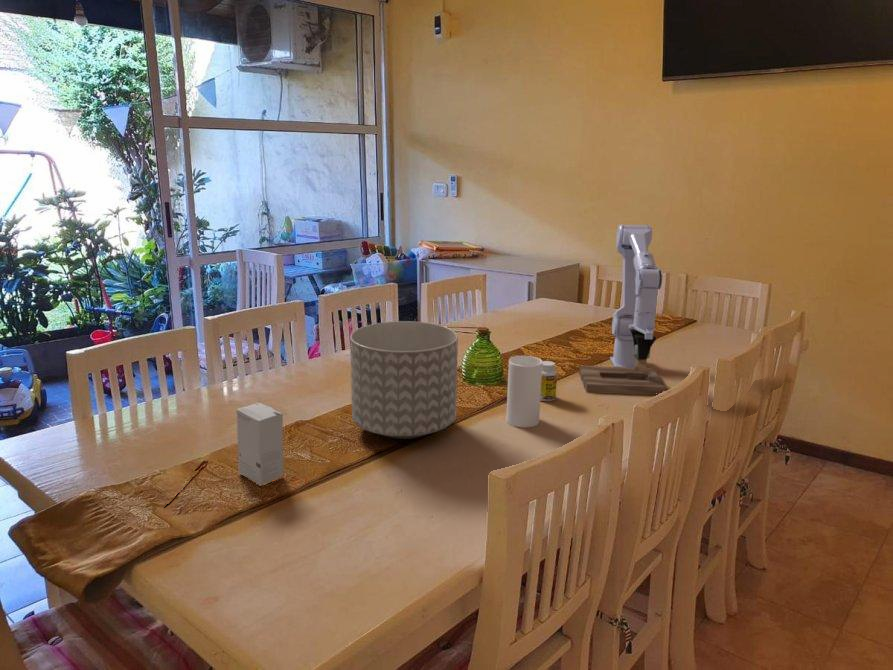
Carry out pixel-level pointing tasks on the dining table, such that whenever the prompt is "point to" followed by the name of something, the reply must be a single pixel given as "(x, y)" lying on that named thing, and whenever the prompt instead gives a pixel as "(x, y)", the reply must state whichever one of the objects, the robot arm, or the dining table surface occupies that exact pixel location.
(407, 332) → the planter
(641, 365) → the peg
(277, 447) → the skincare box
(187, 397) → the dining table surface
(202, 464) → the pen
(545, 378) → the supplement bottle
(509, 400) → the cup
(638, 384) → the keyhole board
